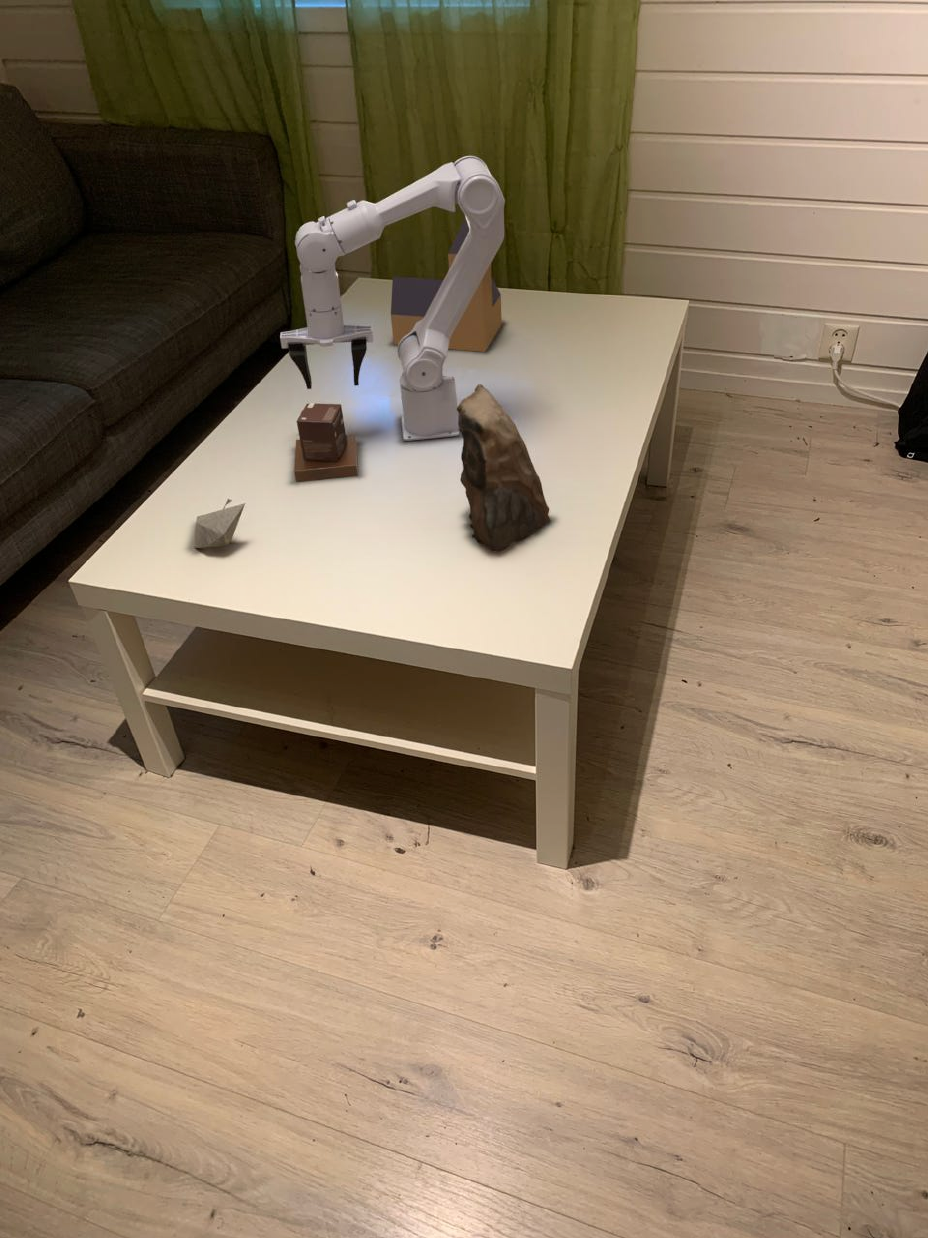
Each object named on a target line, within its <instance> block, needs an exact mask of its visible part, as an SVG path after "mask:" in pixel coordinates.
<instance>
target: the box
mask: <svg viewBox="0 0 928 1238" xmlns="http://www.w3.org/2000/svg"><path fill="white" fill-rule="evenodd" d="M296 424H297V425H296V426H297V431H298V436H299V438H298V439H300V443H301V448H302V453H303V459H304V460H320V461H338V460H339V459H340V457H341V455H342V453H343V451H344V449H345V447H346V445H347V437H346V435H347V432H346V425H345V419H344V412H343V407H342V404H341V403H314V402H311V403H306V405H305V406H304V408H303V409H302V410H301V411H300V415H299V416H298V417H297V419H296Z"/></svg>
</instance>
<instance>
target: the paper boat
mask: <svg viewBox="0 0 928 1238" xmlns="http://www.w3.org/2000/svg"><path fill="white" fill-rule="evenodd" d="M231 502H233V500H232V499H230V498H227V500H226V502H225V504H224V506H223V508H222V509H220V510H216V511H212V512H208V513H205V514H201V515H198V516H196V521H195V530H194V542H193V548H197V549H199V548H217V547H227V546H228V545H229V544H231V542H232V540H233V537H234V534H235V531H236V529H237V526H238V523H239V521H240V518H241V516H242V513H243V510H244V507H245V505H246V503H245V502H244V503H240V504H237V505H234V506H233V505H232V506H230V507H226V506H227V505H228V504H230V503H231Z"/></svg>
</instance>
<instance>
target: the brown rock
mask: <svg viewBox="0 0 928 1238" xmlns="http://www.w3.org/2000/svg"><path fill="white" fill-rule="evenodd" d="M457 411H458V412H459V421H458V424H459V433H461V435H462V449H461V455H460V457H461V458H460V459H461V462H462V472H461V473H460V479H459V480H460V483H461V484H462V486H463V487H464V490H465V497H466V499H467V501H468V505H469V510H470V511H469V512H470V513H469V515H468V518H469V519H470V520H471V524H469V527H470V529H472V530H473V533H472V535H471V537H472V538H473V539H474V540H475V541H476V542H477V543H478V544H480V545H484V546H485V547H487V548H488V549H490V550H491V551H492V552H494V553H498V552H502V551H504V550H505V549H507V548H509V547H510V546H511V545H512V544H514V543H518V542H520V541H521V540H522V539H523V538H525V537H527V536H528V535H529V534H533V533H535V532H537V531H539V530H540V529H541V528H542V527H543V526H545V525H546V524H548V523H549V522H550V521H551V518H550V516H549V513H550V507H549V505H548V503H547V500H546V497H545V495H544V489H543V485H542V481H541V478H540V476H539V474H538V473H537V471H536V468H535V466H534V464H533V462H532V459H531V456H530V454H529V450H528V448H527V445H526V443H525V441H524V439H523V438H522V436H521V434H520V431H519V429H518V427H517V425H516V423H515V422H514V421H513V420H512V418H511V416H509V414H508V413H507V412H506V411H505V410H504V408H503V406H502V405H501V404H500V402H499V401H498V400H497V398H496V397H495V396H494V395H493V394H492V393H491V392H490V391H489V389H487V388H486V387H485V386H484V385H483V384H481V383H478V384H477V385H476V387H475V388H474V392H471V394H470V395H468V396H466V397H465V398H463V399H462V400H461V401H460V403H459V404H458V405H457Z"/></svg>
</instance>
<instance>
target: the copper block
mask: <svg viewBox="0 0 928 1238" xmlns="http://www.w3.org/2000/svg"><path fill="white" fill-rule="evenodd" d="M356 436H357V435H356V433H351V434H350V433H349V434H346V437H347V445H346V447H345V449H344V451H343V453H342V455H341V457H340V459H339V460H338V461H320V460H304V459H303V453H302V448H301V443H300V438H298V439H296V440H295V452H294V466H293V473H294V477H295V482H296V483H297V482H306V481H316V480H317V481H318V480H328V479H336V478H347V477H348V478H349V477H355V476H358V475H359V472H358V470H359V469H358V442H357V438H356Z"/></svg>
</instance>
